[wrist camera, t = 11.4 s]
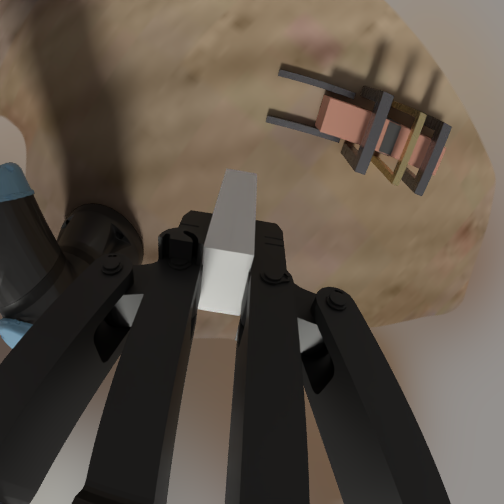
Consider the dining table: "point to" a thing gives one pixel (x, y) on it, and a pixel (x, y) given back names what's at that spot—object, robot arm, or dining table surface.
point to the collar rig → (373, 131)
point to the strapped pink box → (354, 126)
